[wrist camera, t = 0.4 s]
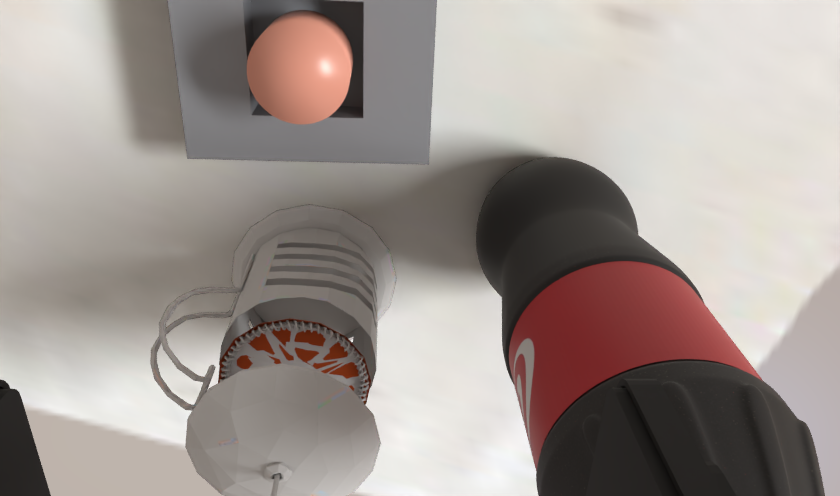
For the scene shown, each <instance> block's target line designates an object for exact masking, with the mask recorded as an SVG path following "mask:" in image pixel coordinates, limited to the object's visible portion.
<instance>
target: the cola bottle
mask: <svg viewBox="0 0 840 496" xmlns="http://www.w3.org/2000/svg"><path fill="white" fill-rule="evenodd" d="M476 245H477V253H478V258H479V261H480V264H481V267H482V270H483V272H484V274H485V276H486V278H487V279H488V281H489V282H490V284H491V285H492V287H493V288H494V289H495V290H496V291H497V293H498V294H499V295H500V296H501V297H502V345H503V353H504V358H505V363H506V367H507V370H508V373H509V376H510V378H511V380H512V382H513V384H514V386H515V389H516V393H517V397H518V401H519V405H520V409H521V413H522V417H523V421H524V425H525V429H526V432H527V436H528V440H529V444H530V448H531V452H532V456H533V460H534V464H535V468H536V471H537V474H536V481H537V490H538V495H539V496H586V492H587V487H588V482H589V477H590V472H591V467H592V462H593V457H594V452H595V447H596V442H597V437H598V432H599V427H600V422H601V417H602V412H603V407H604V402H605V397H606V393H607V390H608V389H609V388H617V385H618V383H619V381H620V380H621V379H656V380H658V381H659V382H660V383H661V385H662V386H663V388H664V390H665V392H666V394H667V395H668V397H669V399H670V401H671V402H672V404H673V406H674V408H675V410H676V411H677V413H678V415H679V417H680V418H681V420H682V422H683V424H684V425H685V427H686V429H687V431H688V433H689V434H690V436H691V438H692V440H693V441H694V443H695V445H696V447H697V449H698V450H699V452H700V454H701V456H702V457H703V459H704V461H712V462H713V463H715V464H716V465H717V466H718V467H719V468H720V470H721V471H722V472H723V474H724V475H725V477H726V479H727V480H728V482H729V484H730V486H731V487H732V489H733V491H734V492H735V494H736V496H825V493H824V488H823V482H822V477H821V472H820V468H819V463H818V458H817V454H816V450H815V446H814V442H813V439H812V435H811V433H810V430H809V428H808V426H807V425H806V423H805V422H803V421H801V420H799V419H797V417H796V416H795V415H794V413H793V412H792V411H791V410H790V408H789V407H788V406H787V404H786V403H785V402H784V400H783V399H782V398H781V397H780V396H779V395H778V393H777V392H776V391H775V390H774V389H772V388H771V387H770V386H769V385H767V384H766V383H765V382H764V381H763V380H762V379H761V378H760V376H759V375H758V374H757V372H756V371H755V370H754V368H753V367H752V366H751V364H750V363H749V362H748V361H747V359H746V358H745V357H744V355H743V354H742V353H741V351H740V350H739V349H738V347H737V346H736V345H735V344H734V342H733V341H732V340H731V338H730V337H729V336H728V334H727V333H726V332H725V330H724V329H723V328H722V327H721V325H720V324H719V323H718V321H717V320H716V319H715V317H714V316H713V315H712V313H711V312H710V311H709V310H708V308H707V307H706V306H705V304H704V302H703V299H702V297H701V295H700V294H699V292H698V290H697V289H696V287H695V286H694V285H693V283H692V282H691V281H690V279H689V278H688V277H687V276H686V275H685V274H684V273H683V272H682V271H681V270H680V269H679V268H678V267H677V266H676V265H675V264H674V263H673V262H671V261H670V260H669V259H668V258H666V257H665V256H664V255H663V254H661V253H660V252H659V251H658V250H656V249H655V248H654V247H653V246H651V245H650V244H649V243H647V242H646V241H645V240H644V239H642V238H641V237H640V236H639V235H638V228H637V223H636V218H635V215H634V212H633V209H632V207H631V205H630V203H629V201H628V199H627V197H626V196H625V194H624V193H623V192H622V190H621V189H620V188H619V187H618V186H617V185H616V184H615V183H614V182H613V181H612V180H611V179H610V178H609V177H608V176H606V175H605V174H604V173H602V172H601V171H599V170H597V169H596V168H594V167H592V166H590V165H587V164H585V163H582V162H579V161H576V160H572V159H567V158H542V159H537V160H533V161H530V162H527V163H525V164H522V165H520V166H518V167H516V168H515V169H513V170H511V171H510V172H509V173H507V174H506V175H505V176H504V177H502V178H501V179H500V180H499V181H498V182H497V183H496V185H495V186H494V187H493V188H492V190H491V191H490V193H489V194H488V196H487V198H486V199H485V201H484V204H483V206H482V209H481V212H480V215H479V219H478V224H477V232H476Z"/></svg>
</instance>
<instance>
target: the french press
mask: <svg viewBox="0 0 840 496" xmlns="http://www.w3.org/2000/svg"><path fill="white" fill-rule="evenodd" d="M232 283H233V285H234V288H219V287H207V288H200V289H194V290H192V291H190V292H188V293H186V294H184V295H182V296H179V297H178V298H177V299H176V300H175V301H174V302H172V303H171V304H170V305H169V306H168V307H167V309H166V311H165V313H164V315H163V317H162V319H161V321H160V323H159V337H158V339H157V340H156V342H155V344H154V345H153V347H152V349H151V367H152V371H153V375H154V379H155V381H156V382H157V383H158V385H159V386H160V387H161V389H162V390H163V391H164V392H165V394H166V395H167V396H168V397H169V398H170V399H172V400H173V401H174V402H176V403H177V404H178V405H180V406H181V407H182V408H184V409H185V410H193V411H192V412H191V414H190V416H189V417H188V421H187V434H186V446H185V447H186V449H187V452H188V454H189V456H190V458H191V460H192V462H193V464H194V467H195V469H196V471H197V473H198V474H199V475H200V476H201V477H202V478H204V479H205V480H206V481H207V482H208V483H209V484H210V485H211V486H213V487H214V488H215V489H216V490H217V491H218V492H219V493H220V494H222V495H224V496H348V495H350V494H352V493H354V492H355V490H356V489H357V488H358V487H359V486H360V485H361V484H362V482H363V481H364V480H365V479H366V478H367V477H368V476H369V475H370V473H371V472H372V471H373V468H374V465H375V461H376V458H377V454H378V451H379V447H380V444H381V442H380V438H379V434H378V431H377V427H376V423H375V419H374V415H373V414H372V412H371V411H370V410H369V409H368V408H367V407H366V405H365V404H366V402H367V398H368V393H369V389H370V387H371V386H372V382H373V379H374V375H375V372H376V357H377V323H378V320H379V319H380V318H381V317H382V315H383V314H384V313H385V311H386V310H387V309H388V308H389V306H390V304H391V300H392V296H393V291H394V287H395V283H396V275H395V271H394V266H393V262H392V258H391V253H390V251H389V249H388V248H387V247H386V246H385V244H384V243H383V242H382V240H381V239H380V238H379V236H378V235H377V234H376V232H375V231H374V230H373V229H372V227H370V226H369V225H367V224H365V223H363V222H362V221H360V220H358V219H357V218H355V217H353V216H352V215H350V214H348V213H346V212H345V211H343V210H337V209H332V208H326V207H320V206H315V205H305V206H299V207H294V208H288V209H283V210H278V211H275V212H274V213H272V214H271V215H269V216H267V217H266V218H264V219H263V220H261V221H260V222H258V223H257V224H255V225H253V226H252V227H250V229H249V230H248V232H247V233H246V235H245V236H244V238H243V240H242V241H241V243H240V244H239V246H238V247H237V249H236V251H235V252H234V261H233V271H232ZM209 292H218V293H236V294H237V295H236V297H235V300H234V303H233V305H232V308H231V310H230V311H229V312H228V313H197V314H192V315H187V316H183V317H181V318H180V319H178V320H176V321H174V322H173V323H172V324H170V325H169V326H168V327H166V322H167V320H168V319H169V317H170V316H171V314H172V312H173V311H174V309H175V308H176V306H177V305H178V304H179V303H181V302H183V301H184V300H186V299H187V298H189V297H190V296H192V295H196V294H202V293H209ZM230 316H232V318H231V321H230V323H229V326H228V329H227V332H226V334H225V337H224V340H223V342H222V345H221V353H220V362H219V365H220V369H219V380H218V384H216V385H214V386H213V387H211V388H209V389H208V386H209V384H210V381H211V379H212V376H213V373H214V370H215V366H214V365H211V366H209V369H208V371H207V373H206V375H205V377H202V376H198V375H196V374H195V373H194V372H192V371H191V370H189V369H188V368H187V367H185V366H184V365H182V364H181V363H180V361H179V360H178V359H177V357H176V356H175V355H174V353H173V352H172V351H171V349H170V348H169V346H168V343H167V340H166V334H168V333H169V332H170V331H171V330H172V329H173V328H174V327H176V326H178V325H179V324H181V323H183V322H184V321H186V320H188V319H194V318H200V317H216V318H227V317H230ZM249 320H250V321H251V323H252V325H253V328H252V329H250V327H249V325H248V323H249ZM351 339H353V342H352V343H351V341H350V340H351ZM161 342H162V346H163V349H164V350H165V352H166V353H167V355H168V356H169V358H170V359H171V360H172V362H173V363H174V365H175V366H176V367H177V368H178V369H179V370H180V371H182V372H183V373H184V374H186V375H187V376H189V377H190V378H191V379H193V380H195V381H200V382H203V385H202V388H201V391H200V393H199V396H198V398H197V400H196V403H195V404H194V405H191V404H188V403H187V402H185V401H184V400H182V399H181V398H179V397H178V396H177V395H175V394H174V393H172V392H171V390H170V389H169V387H168V386H167V385H166V383H165V382H164V380H163V379H162V378H161V376H160V372H159V369H158V365H157V352H158V349H159V347H160V344H161ZM207 389H208V391H207Z"/></svg>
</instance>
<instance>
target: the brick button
mask: <svg viewBox="0 0 840 496" xmlns="http://www.w3.org/2000/svg"><path fill="white" fill-rule="evenodd" d="M352 68H353V53H352V48H351V45H350V42H349V40H348V38H347V36H346V34H345V33H344V31H343V30H342V29H341V27H340V26H339V25H338V24H337V23H336V22H335V21H333V20H332V19H331V18H329V17H327V16H325V15H324V14H321V13H319V12H315V11H311V10H296V11H291V12H288V13H285V14H283V15H281V16H279V17H278V18H277V19H275V20H274V21H273V22H272V23H271V24H270V25H269V26H268V27H267V29H266V30H265V31H264V32H263V33H262V34H261V35H260V36H259V38H258V39H257V40H256V41H255V43H254V45H253V46H252V48H251V51H250V53H249V56H248V60H247V78H248V83H249V86H250V89H251V91H252V94H253V95H254V97H255V99H256V100H257V101H258V103H259V104H260V105H261V106H262V107H263V108H264V109H265V110H266V111H267V112H268V113H269V114H271V115H272V116H274V117H276V118H278V119H280V120H282V121H285V122H288V123H292V124H312V123H316V122H319V121H321V120H324V119H326V118H327V117H329V116H330V115H332V114H333V113H334V112H335V111H336V110H337V109H338V108H339V107H340V106H341V104H342V103H343V101H344V99H345V97H346V95H347V92H348V88H349V83H350V78H351V73H352Z"/></svg>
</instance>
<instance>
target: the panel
mask: <svg viewBox="0 0 840 496" xmlns="http://www.w3.org/2000/svg"><path fill="white" fill-rule="evenodd" d="M436 7H437V0H168V8H169V15H170V23H171V31H172V39H173V47H174V55H175V63H176V71H177V79H178V87H179V95H180V103H181V111H182V119H183V127H184V135H185V143H186V151H187V159H223V160H265V161H307V162H349V163H391V164H429V147H430V127H431V107H432V87H433V67H434V47H435V27H436ZM296 10H311V11H315V12H319V13H321V14H324V15H325V16H327V17H329V18H331V19H332V20H333V21H335V22H336V23H337V24H338V25H339V26H340V27H341V29H342V30H343V31H344V33H345V34H346V36H347V38H348V40H349V42H350V45H351V48H352V53H353V68H352V73H351V78H350V83H349V88H348V92H347V95H346V97H345V99H344V101H343V103H342V104H341V106H340V107H339V108H338V109H337V110H336V111H335V112H334V113H333V114H332V115H330V116H329V117H327V118H326V119H324V120H321V121H319V122H316V123H312V124H292V123H288V122H285V121H282V120H280V119H278V118H276V117H274V116H272V115H271V114H269V113H268V112H267V111H266V110H265V109H264V108H263V107H262V106H261V105H260V104H259V103H258V101H257V100H256V99H255V97H254V95H253V94H252V91H251V89H250V86H249V83H248V78H247V60H248V56H249V53H250V51H251V48H252V46H253V45H254V43H255V41H256V40H257V39H258V38H259V36H260V35H261V34H262V33H263V32H264V31H265V30H266V29H267V27H268V26H269V25H270V24H271V23H272V22H273V21H274V20H275V19H277V18H278V17H279V16H281V15H283V14H285V13H288V12H291V11H296Z"/></svg>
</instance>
